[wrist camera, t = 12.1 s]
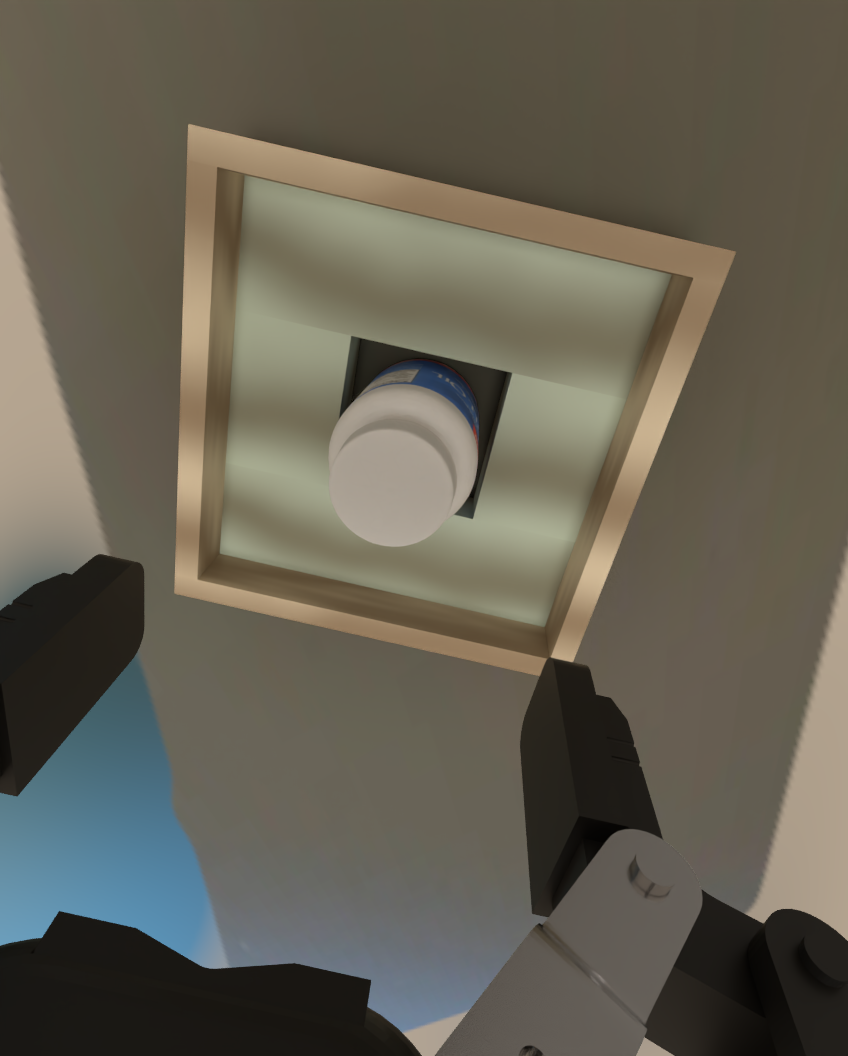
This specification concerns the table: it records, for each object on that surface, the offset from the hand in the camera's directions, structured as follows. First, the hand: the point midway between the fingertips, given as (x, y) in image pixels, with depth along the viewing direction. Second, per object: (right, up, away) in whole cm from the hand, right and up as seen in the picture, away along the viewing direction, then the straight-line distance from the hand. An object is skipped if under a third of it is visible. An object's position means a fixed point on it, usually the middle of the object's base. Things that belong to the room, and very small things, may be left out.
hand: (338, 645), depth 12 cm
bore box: (+2, +7, +16) cm, 18 cm away
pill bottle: (+2, +8, +16) cm, 18 cm away
